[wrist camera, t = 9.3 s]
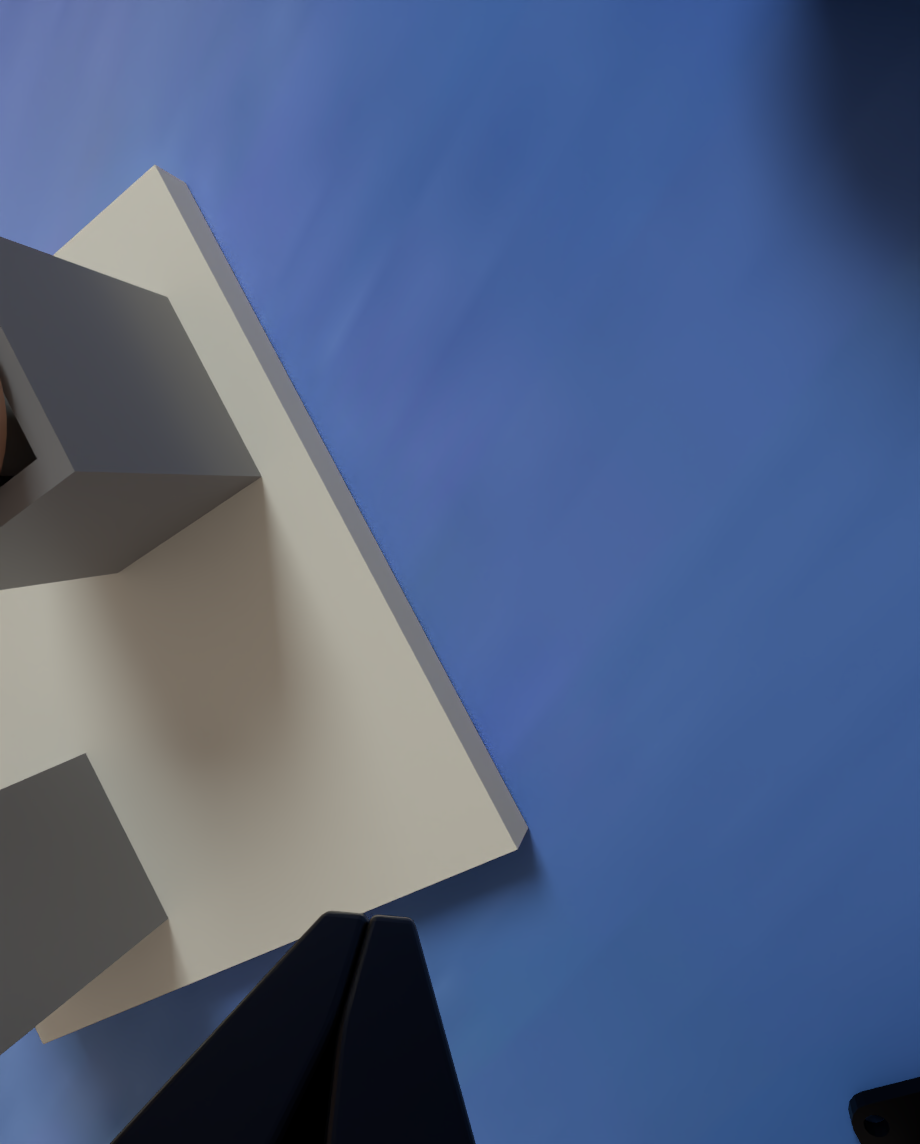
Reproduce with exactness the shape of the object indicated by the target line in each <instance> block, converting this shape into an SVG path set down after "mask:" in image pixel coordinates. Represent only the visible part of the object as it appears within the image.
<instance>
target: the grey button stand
mask: <svg viewBox="0 0 920 1144" xmlns="http://www.w3.org/2000/svg"><path fill="white" fill-rule="evenodd" d="M0 380H1V384H2V389H3V393H4V395H5V397H6V399H7V401H8V403H9V405H10V407H11V409H12V411H13V413H14V415H15V417H16V419H17V421H18V422H19V424H20V426H21V428H22V430H23V432H24V434H25V436H26V438H27V440H28V442H29V444H30V446H31V448H32V450H33V452H34V454H35V456H36V458H37V459H36V460H35V461H34V462H32V463H31V464H30V465H29V466H27V467H26V468H25V469H23V470H22V471H21V472H20V473H18V474H17V475H16V476H1V475H0V1055H1V1054H2V1053H3V1052H5V1051H6V1050H7V1049H8V1048H10V1047H11V1046H12V1045H13V1044H15V1043H16V1042H17V1041H18V1040H20V1039H21V1038H22V1037H23V1036H24V1035H26V1034H27V1033H28V1032H29V1031H31V1030H32V1029H33V1028H34V1027H35V1028H36V1030H37V1032H38V1034H39V1036H40V1039H41V1041H42V1043H43V1044H45V1043H47V1042H50V1041H52V1040H54V1039H57V1038H59V1037H62V1036H64V1035H67V1034H69V1033H72V1032H74V1031H76V1030H79V1029H81V1028H84V1027H86V1026H89V1025H91V1024H93V1023H96V1022H98V1021H101V1020H103V1019H106V1018H108V1017H110V1016H113V1015H115V1014H118V1013H120V1012H123V1011H125V1010H128V1009H130V1008H132V1007H135V1006H137V1005H140V1004H142V1003H145V1002H147V1001H149V1000H152V999H154V998H157V997H159V996H162V995H164V994H167V993H169V992H171V991H174V990H176V989H179V988H181V987H184V986H186V985H188V984H191V983H193V982H196V981H198V980H201V979H203V978H206V977H208V976H210V975H213V974H215V973H218V972H220V971H223V970H225V969H227V968H230V967H232V966H235V965H237V964H240V963H242V962H245V961H247V960H249V959H252V958H254V957H257V956H259V955H262V954H264V953H266V952H269V951H271V950H274V949H276V948H279V947H281V946H283V945H286V944H288V943H291V942H293V941H296V940H298V939H300V938H301V936H302V935H303V934H304V933H305V932H306V931H307V930H308V929H309V928H310V927H311V926H312V925H313V924H314V922H315V921H316V920H317V919H318V918H319V917H320V916H321V915H322V914H324V913H325V912H327V911H342V912H353V913H364V912H366V911H369V910H371V909H374V908H376V907H379V906H381V905H383V904H386V903H388V902H391V901H393V900H396V899H398V898H400V897H403V896H405V895H408V894H410V893H413V892H415V891H417V890H420V889H422V888H425V887H427V886H430V885H432V884H435V883H437V882H439V881H442V880H444V879H447V878H449V877H452V876H454V875H456V874H459V873H461V872H464V871H466V870H469V869H471V868H474V867H476V866H478V865H481V864H483V863H486V862H488V861H491V860H493V859H495V858H498V857H500V856H503V855H505V854H508V853H510V852H513V851H515V850H517V849H518V848H519V846H520V844H521V842H522V840H523V838H524V836H525V834H526V832H527V830H528V826H527V825H526V823H525V821H524V819H523V817H522V815H521V813H520V811H519V809H518V808H517V806H516V804H515V802H514V800H513V798H512V796H511V794H510V793H509V791H508V789H507V787H506V785H505V783H504V781H503V779H502V777H501V776H500V774H499V772H498V770H497V768H496V766H495V764H494V762H493V761H492V759H491V757H490V755H489V753H488V751H487V749H486V747H485V745H484V744H483V742H482V740H481V738H480V736H479V734H478V732H477V730H476V729H475V727H474V725H473V723H472V721H471V719H470V717H469V715H468V714H467V712H466V710H465V708H464V706H463V704H462V702H461V700H460V698H459V697H458V695H457V693H456V691H455V689H454V687H453V685H452V683H451V682H450V680H449V678H448V676H447V674H446V672H445V670H444V668H443V666H442V665H441V663H440V661H439V659H438V657H437V655H436V653H435V651H434V650H433V648H432V646H431V644H430V642H429V640H428V638H427V636H426V634H425V633H424V631H423V629H422V627H421V625H420V623H419V621H418V619H417V618H416V616H415V614H414V612H413V610H412V608H411V606H410V604H409V602H408V601H407V599H406V597H405V595H404V593H403V591H402V589H401V587H400V586H399V584H398V582H397V580H396V578H395V576H394V574H393V572H392V570H391V569H390V567H389V565H388V563H387V561H386V559H385V557H384V555H383V554H382V552H381V550H380V548H379V546H378V544H377V542H376V540H375V538H374V537H373V535H372V533H371V531H370V529H369V527H368V525H367V523H366V522H365V520H364V518H363V516H362V514H361V512H360V510H359V508H358V507H357V505H356V503H355V501H354V499H353V497H352V495H351V493H350V491H349V490H348V488H347V486H346V484H345V482H344V480H343V478H342V476H341V475H340V473H339V471H338V469H337V467H336V465H335V463H334V461H333V459H332V458H331V456H330V454H329V452H328V450H327V448H326V446H325V444H324V443H323V441H322V439H321V437H320V435H319V433H318V431H317V429H316V427H315V426H314V424H313V422H312V420H311V418H310V416H309V414H308V412H307V411H306V409H305V407H304V405H303V403H302V401H301V399H300V397H299V395H298V394H297V392H296V390H295V388H294V386H293V384H292V382H291V380H290V379H289V377H288V375H287V373H286V371H285V369H284V367H283V365H282V363H281V362H280V360H279V358H278V356H277V354H276V352H275V350H274V348H273V347H272V345H271V343H270V341H269V339H268V337H267V335H266V333H265V332H264V330H263V328H262V326H261V324H260V322H259V320H258V318H257V316H256V315H255V313H254V311H253V309H252V307H251V305H250V303H249V301H248V300H247V298H246V296H245V294H244V292H243V290H242V288H241V286H240V284H239V283H238V281H237V279H236V277H235V275H234V273H233V271H232V269H231V268H230V266H229V264H228V262H227V260H226V258H225V256H224V254H223V252H222V251H221V249H220V247H219V245H218V243H217V241H216V239H215V237H214V236H213V234H212V232H211V230H210V228H209V226H208V224H207V222H206V220H205V219H204V217H203V215H202V213H201V211H200V209H199V207H198V205H197V204H196V202H195V200H194V198H193V196H192V194H191V192H190V190H189V188H188V187H187V185H186V183H185V182H183V181H181V180H180V179H178V178H176V177H175V176H173V175H171V174H170V173H168V172H166V171H165V170H163V169H161V168H160V167H158V166H156V165H154V166H153V167H151V168H150V169H149V170H148V171H147V172H146V173H145V174H144V175H143V176H141V177H140V178H139V179H138V180H137V181H136V182H135V183H134V184H132V185H131V186H130V187H129V188H128V189H127V190H126V191H125V192H123V193H122V194H121V195H120V196H119V197H118V198H117V199H116V200H115V201H113V202H112V203H111V204H110V205H109V206H108V207H107V208H106V209H104V210H103V211H102V212H101V213H100V214H99V215H98V216H97V217H95V218H94V219H93V220H92V221H91V222H90V223H89V224H88V225H87V226H85V227H84V228H83V229H82V230H81V231H80V232H79V233H78V234H76V235H75V236H74V237H73V238H72V239H71V240H70V241H69V242H67V243H66V244H65V245H64V246H63V247H62V248H61V249H60V250H59V251H57V252H56V253H55V254H54V255H53V256H52V255H50V254H47V253H44V252H41V251H39V250H36V249H33V248H30V247H27V246H25V245H22V244H19V243H16V242H14V241H11V240H8V239H5V238H3V237H0Z"/></svg>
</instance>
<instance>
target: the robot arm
mask: <svg viewBox="0 0 920 1144" xmlns="http://www.w3.org/2000/svg"><path fill="white" fill-rule="evenodd" d="M848 1110H849V1114H850V1118H851V1122H852V1126H853V1129H854V1132H855V1134H856V1135H857V1137H858V1139H859V1141H860V1143H861V1144H920V1077H917V1078H914V1079H910V1080H906V1081H902V1082H898V1083H894V1084H890V1085H886V1086H882V1087H878V1088H874V1089H870V1090H866V1091H862V1092H860V1093H858V1094H856V1095H854V1096H853V1097H852V1099H851V1100H850V1101H849V1108H848ZM870 1115H878V1116H880V1117H883V1118H884V1120H882V1121H880V1122H870V1121H868V1120H866V1118H867V1117H868V1116H870ZM110 1144H476V1143H475V1140H474V1136H473V1132H472V1129H471V1125H470V1122H469V1118H468V1114H467V1111H466V1107H465V1103H464V1100H463V1096H462V1092H461V1089H460V1085H459V1081H458V1078H457V1074H456V1071H455V1067H454V1063H453V1060H452V1056H451V1052H450V1049H449V1045H448V1041H447V1038H446V1034H445V1030H444V1027H443V1023H442V1019H441V1016H440V1012H439V1009H438V1005H437V1001H436V998H435V994H434V990H433V987H432V983H431V979H430V976H429V972H428V968H427V965H426V961H425V958H424V954H423V950H422V947H421V943H420V939H419V936H418V932H417V928H416V925H415V923H414V921H413V920H412V919H410V918H407V917H397V916H386V915H375V916H373V917H372V918H371V919H370V921H369V920H368V918H367V916H366V915H364V914H362V913H353V912H342V911H327V912H325V913H324V914H322V915H321V916H320V917H319V918H318V919H317V920H316V921H315V922H314V924H313V925H312V926H311V927H310V928H309V929H308V930H307V931H306V932H305V933H304V934H303V935H302V936H301V938H300V939H299V940H298V941H297V942H296V943H295V944H294V945H293V946H292V947H291V948H290V949H289V951H288V952H287V953H286V954H285V955H284V956H283V957H282V958H281V959H280V960H279V961H278V962H277V963H276V965H275V966H274V967H273V968H272V969H271V970H270V971H269V972H268V973H267V974H266V975H265V976H264V978H263V979H262V980H261V981H260V982H259V983H258V984H257V985H256V986H255V987H254V988H253V989H252V991H251V992H250V993H249V994H248V995H247V996H246V997H245V998H244V999H243V1000H242V1001H241V1002H240V1003H239V1005H238V1006H237V1007H236V1008H235V1009H234V1010H233V1011H232V1012H231V1013H230V1014H229V1015H228V1016H227V1018H226V1019H225V1020H224V1021H223V1022H222V1023H221V1024H220V1025H219V1026H218V1027H217V1028H216V1029H215V1031H214V1032H213V1033H212V1034H211V1035H210V1036H209V1037H208V1038H207V1039H206V1040H205V1041H204V1042H203V1043H202V1045H201V1046H200V1047H199V1048H198V1049H197V1050H196V1051H195V1052H194V1053H193V1054H192V1055H191V1056H190V1058H189V1059H188V1060H187V1061H186V1062H185V1063H184V1064H183V1065H182V1066H181V1067H180V1068H179V1069H178V1070H177V1072H176V1073H175V1074H174V1075H173V1076H172V1077H171V1078H170V1079H169V1080H168V1081H167V1082H166V1083H165V1085H164V1086H163V1087H162V1088H161V1089H160V1090H159V1091H158V1092H157V1093H156V1094H155V1095H154V1096H153V1098H152V1099H151V1100H150V1101H149V1102H148V1103H147V1104H146V1105H145V1106H144V1107H143V1108H142V1109H141V1110H140V1112H139V1113H138V1114H137V1115H136V1116H135V1117H134V1118H133V1119H132V1120H131V1121H130V1122H129V1123H128V1125H127V1126H126V1127H125V1128H124V1129H123V1130H122V1131H121V1132H120V1133H119V1134H118V1135H117V1136H116V1138H115V1139H114V1140H113V1141H112V1142H111V1143H110Z"/></svg>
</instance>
